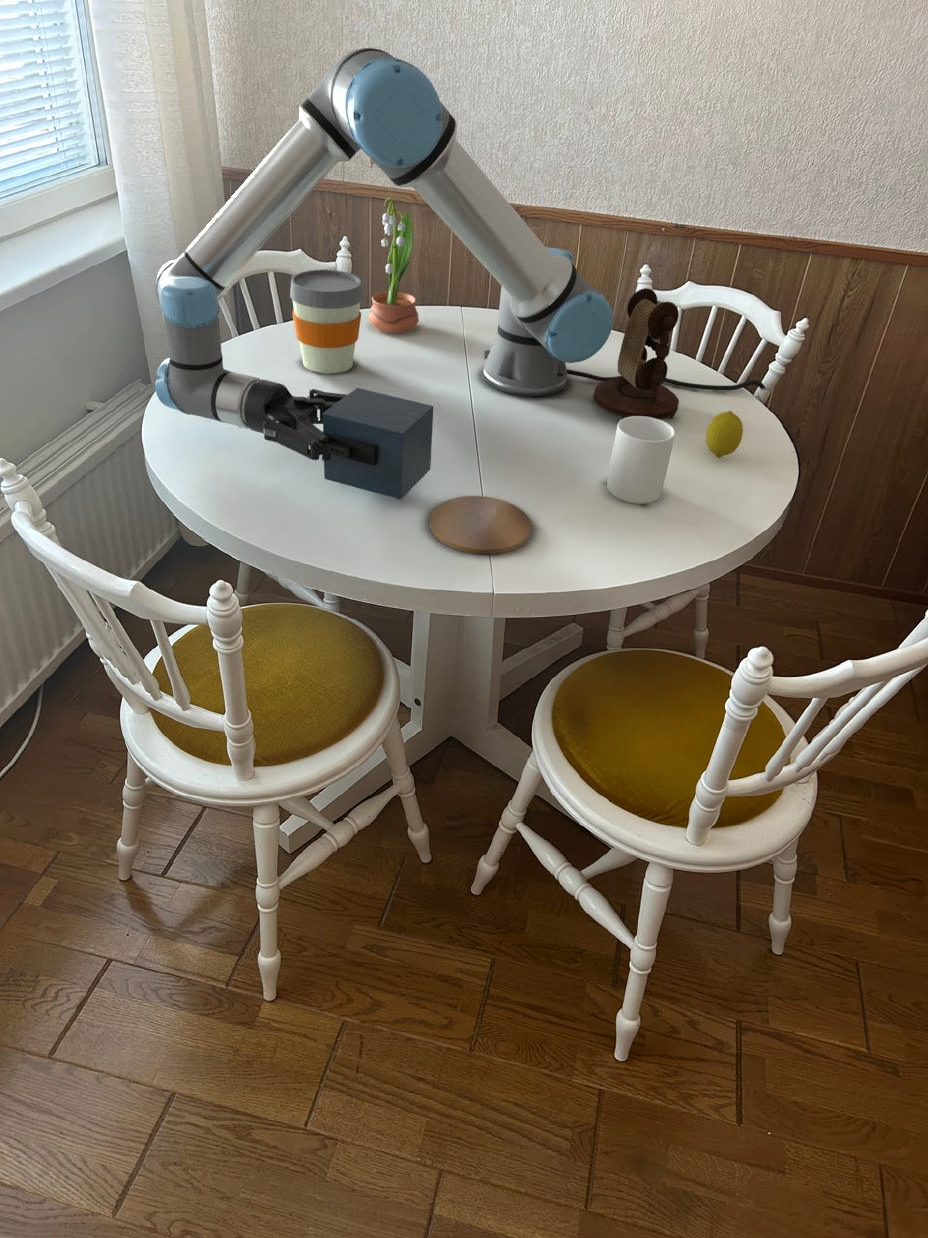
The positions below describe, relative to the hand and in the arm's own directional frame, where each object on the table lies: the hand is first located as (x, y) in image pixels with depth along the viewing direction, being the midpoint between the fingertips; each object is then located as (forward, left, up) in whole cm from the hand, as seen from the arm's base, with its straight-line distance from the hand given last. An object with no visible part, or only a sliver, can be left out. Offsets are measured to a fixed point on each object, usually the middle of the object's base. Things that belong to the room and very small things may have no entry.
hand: (393, 439), depth 128 cm
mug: (-36, +5, -8) cm, 37 cm away
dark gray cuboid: (+2, -1, -6) cm, 6 cm away
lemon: (-55, -1, -8) cm, 55 cm away
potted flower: (-16, -63, -8) cm, 66 cm away
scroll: (-49, -20, -8) cm, 53 cm away
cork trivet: (-10, +12, -8) cm, 17 cm away
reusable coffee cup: (0, -47, -8) cm, 48 cm away
